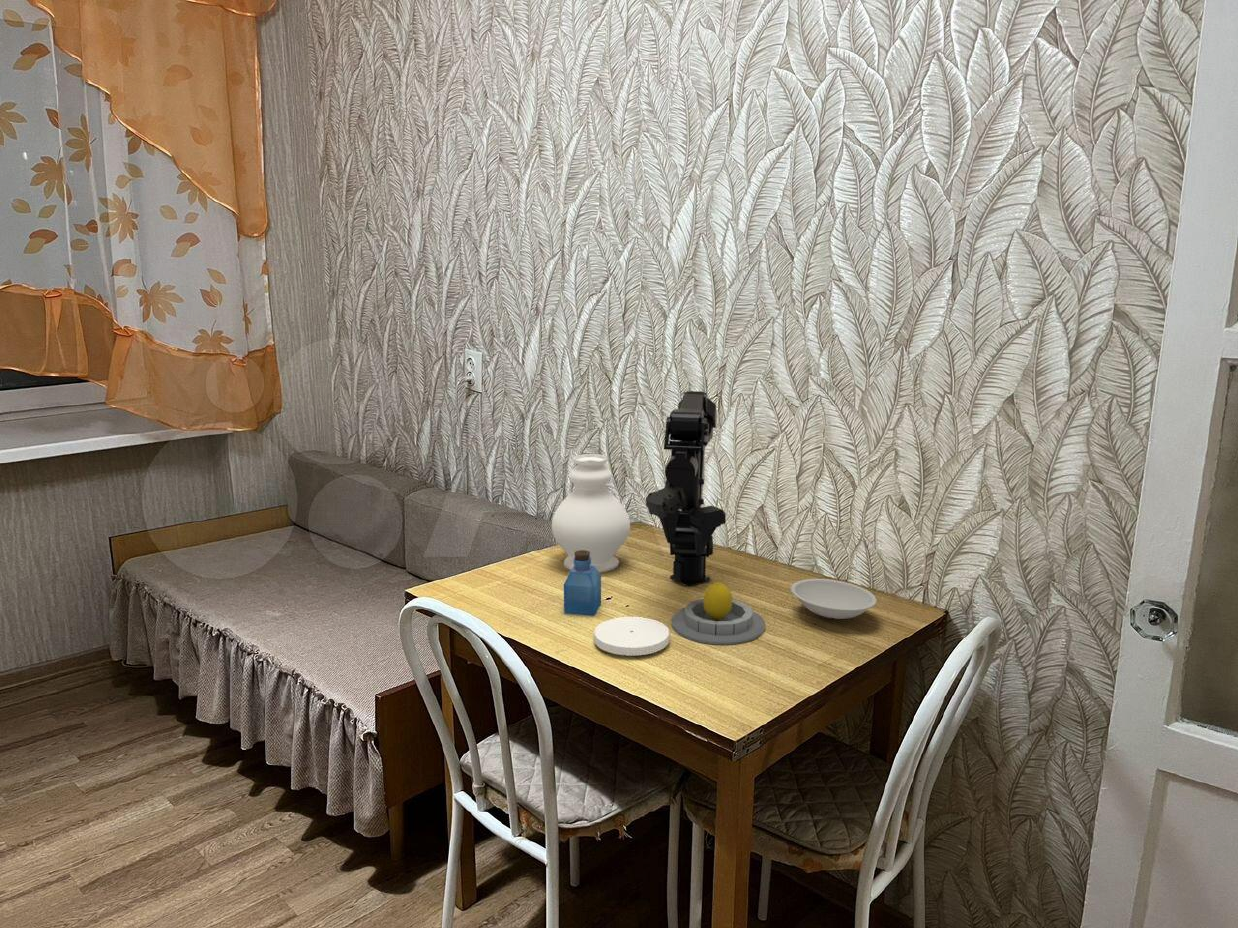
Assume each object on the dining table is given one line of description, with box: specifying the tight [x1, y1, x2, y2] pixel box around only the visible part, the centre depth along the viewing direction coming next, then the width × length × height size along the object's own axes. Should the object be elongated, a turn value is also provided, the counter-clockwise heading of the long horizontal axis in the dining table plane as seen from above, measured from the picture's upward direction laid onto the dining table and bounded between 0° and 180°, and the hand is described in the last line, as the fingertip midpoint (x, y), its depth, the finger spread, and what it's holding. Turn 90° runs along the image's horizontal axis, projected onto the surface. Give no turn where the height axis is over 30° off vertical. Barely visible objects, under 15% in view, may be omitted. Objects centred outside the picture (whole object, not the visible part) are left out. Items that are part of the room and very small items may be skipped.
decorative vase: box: [551, 453, 631, 574], centre depth 215 cm, size 18×18×25 cm
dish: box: [790, 578, 878, 620], centre depth 187 cm, size 18×14×5 cm
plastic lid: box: [593, 616, 670, 657], centre depth 176 cm, size 14×14×2 cm
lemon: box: [702, 581, 733, 621], centre depth 183 cm, size 6×6×8 cm
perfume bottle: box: [563, 550, 602, 617], centre depth 191 cm, size 6×6×12 cm
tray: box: [671, 598, 766, 646], centre depth 184 cm, size 18×18×3 cm
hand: (684, 548), depth 191 cm, fingers open, 9 cm apart
